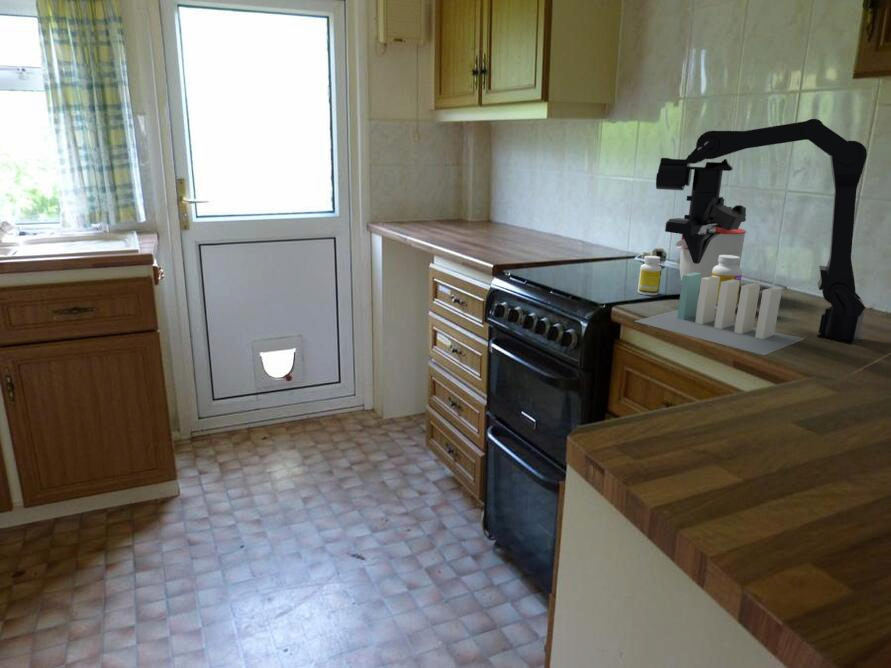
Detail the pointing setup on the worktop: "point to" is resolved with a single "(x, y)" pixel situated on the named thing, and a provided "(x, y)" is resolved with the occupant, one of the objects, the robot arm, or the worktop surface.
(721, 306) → the domino
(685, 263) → the citrus juicer
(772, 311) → the domino
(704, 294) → the domino
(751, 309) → the domino
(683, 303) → the teal domino
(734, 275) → the supplement bottle
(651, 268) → the supplement bottle
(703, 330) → the slate mat
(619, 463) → the worktop surface
